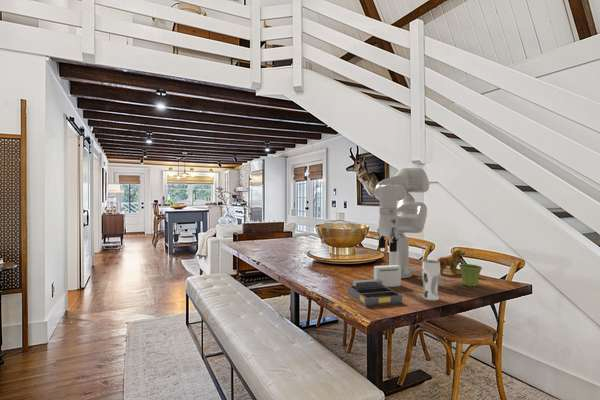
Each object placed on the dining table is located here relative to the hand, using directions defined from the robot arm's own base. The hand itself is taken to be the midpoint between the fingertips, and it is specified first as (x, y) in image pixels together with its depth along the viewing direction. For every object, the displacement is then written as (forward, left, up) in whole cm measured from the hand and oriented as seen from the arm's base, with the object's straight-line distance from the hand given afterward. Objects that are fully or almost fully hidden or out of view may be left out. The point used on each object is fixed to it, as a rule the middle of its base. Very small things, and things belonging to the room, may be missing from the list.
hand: (387, 249), depth 148 cm
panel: (0, 0, -17) cm, 17 cm away
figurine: (-43, -12, -17) cm, 48 cm away
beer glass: (-8, +20, -17) cm, 27 cm away
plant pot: (-38, +8, -17) cm, 42 cm away
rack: (+14, +14, -17) cm, 26 cm away
